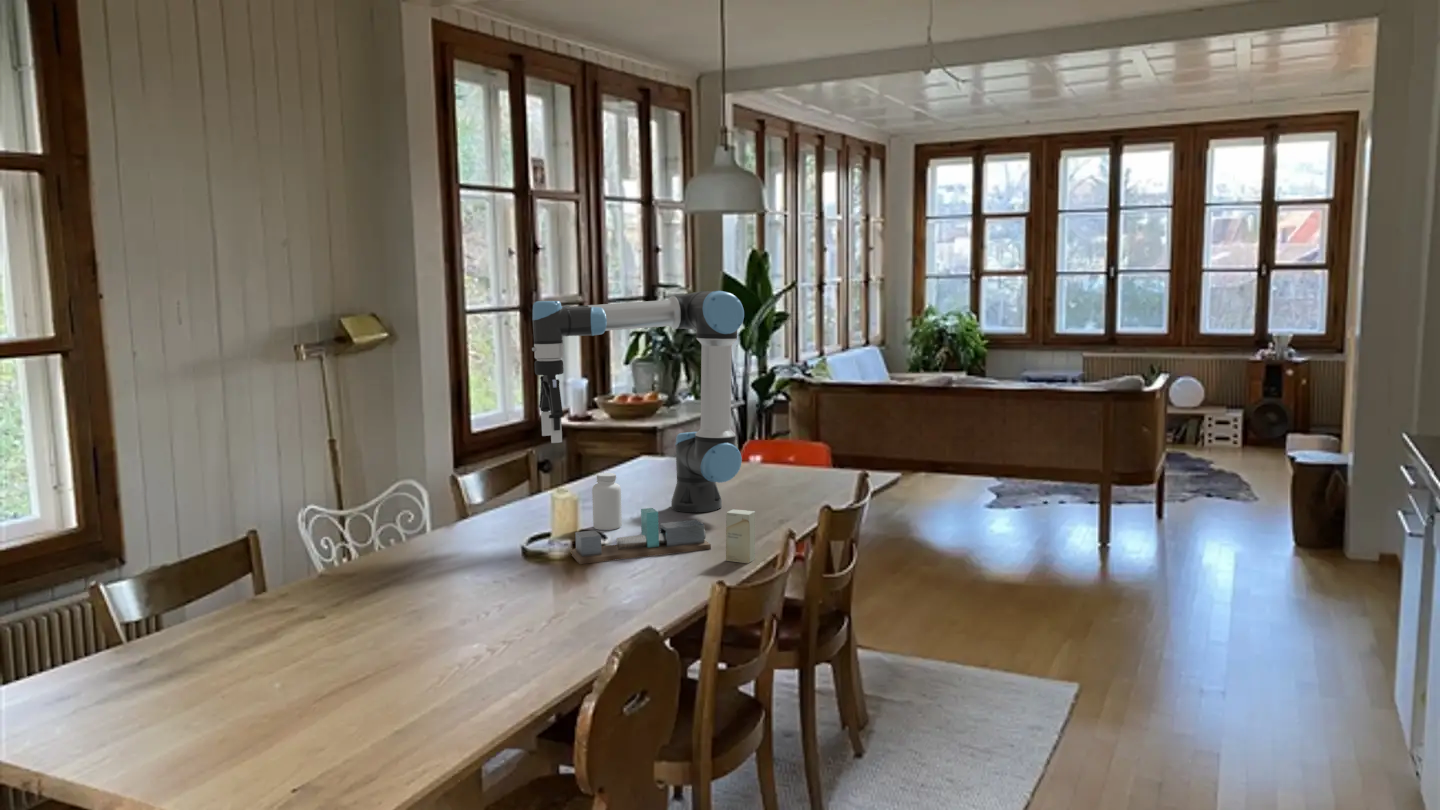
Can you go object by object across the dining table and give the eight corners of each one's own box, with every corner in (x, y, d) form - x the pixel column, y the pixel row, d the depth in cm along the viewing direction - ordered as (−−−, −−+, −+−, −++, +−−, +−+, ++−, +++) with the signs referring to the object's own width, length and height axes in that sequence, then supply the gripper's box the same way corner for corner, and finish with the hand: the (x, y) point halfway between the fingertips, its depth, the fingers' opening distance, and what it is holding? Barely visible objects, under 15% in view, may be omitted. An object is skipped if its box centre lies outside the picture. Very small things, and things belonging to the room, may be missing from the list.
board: (697, 540, 274) (697, 535, 274) (710, 548, 265) (710, 544, 264) (570, 554, 262) (570, 549, 262) (579, 564, 253) (579, 559, 252)
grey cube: (595, 548, 262) (594, 530, 261) (601, 554, 256) (600, 535, 256) (576, 551, 260) (575, 532, 260) (581, 556, 255) (581, 537, 254)
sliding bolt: (700, 536, 271) (700, 503, 270) (707, 541, 267) (706, 506, 266) (615, 546, 263) (614, 511, 262) (620, 551, 259) (619, 515, 257)
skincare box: (725, 561, 253) (724, 512, 251) (732, 556, 257) (731, 508, 255) (749, 563, 250) (748, 514, 249) (756, 559, 254) (755, 510, 253)
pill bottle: (624, 524, 293) (622, 471, 291) (618, 530, 285) (617, 477, 284) (596, 523, 294) (595, 471, 292) (590, 530, 286) (588, 477, 284)
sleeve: (696, 537, 271) (696, 519, 271) (704, 542, 266) (704, 524, 265) (659, 541, 268) (659, 523, 267) (667, 547, 262) (666, 528, 262)
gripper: (526, 357, 285) (530, 433, 288) (543, 363, 262) (546, 446, 265) (554, 355, 288) (556, 431, 290) (572, 362, 264) (575, 444, 267)
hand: (551, 439), depth 277 cm, fingers open, 13 cm apart
